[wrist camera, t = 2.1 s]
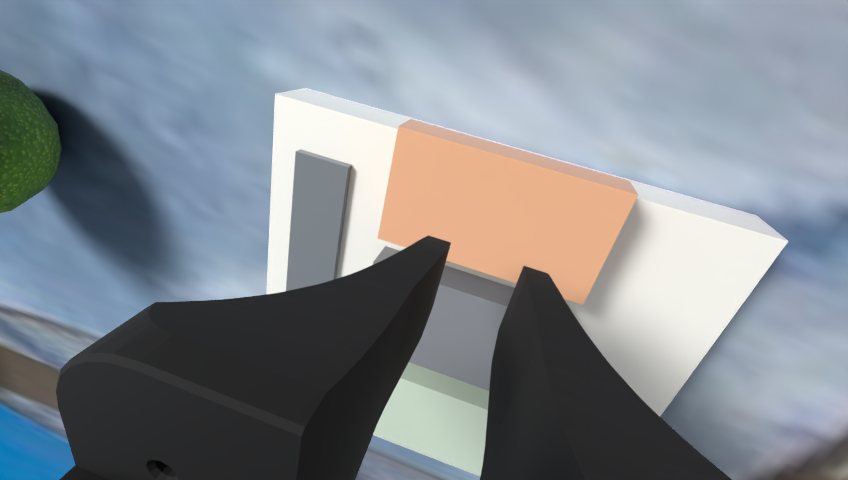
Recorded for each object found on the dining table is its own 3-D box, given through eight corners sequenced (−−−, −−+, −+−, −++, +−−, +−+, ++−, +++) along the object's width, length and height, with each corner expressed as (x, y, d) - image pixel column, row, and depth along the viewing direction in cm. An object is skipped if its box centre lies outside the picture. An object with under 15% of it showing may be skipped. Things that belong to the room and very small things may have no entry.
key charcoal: (532, 381, 19) (532, 406, 18) (369, 323, 20) (357, 343, 19) (569, 305, 17) (571, 327, 16) (385, 245, 18) (373, 262, 17)
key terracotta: (579, 283, 16) (583, 305, 15) (390, 223, 17) (377, 238, 16) (629, 180, 14) (638, 194, 13) (410, 118, 15) (398, 126, 14)
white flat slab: (609, 435, 23) (617, 483, 21) (287, 319, 26) (260, 349, 23) (756, 215, 17) (794, 246, 14) (305, 87, 19) (269, 94, 17)
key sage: (497, 455, 22) (494, 482, 20) (354, 400, 23) (343, 423, 21) (524, 397, 19) (523, 423, 18) (366, 340, 20) (354, 361, 19)
